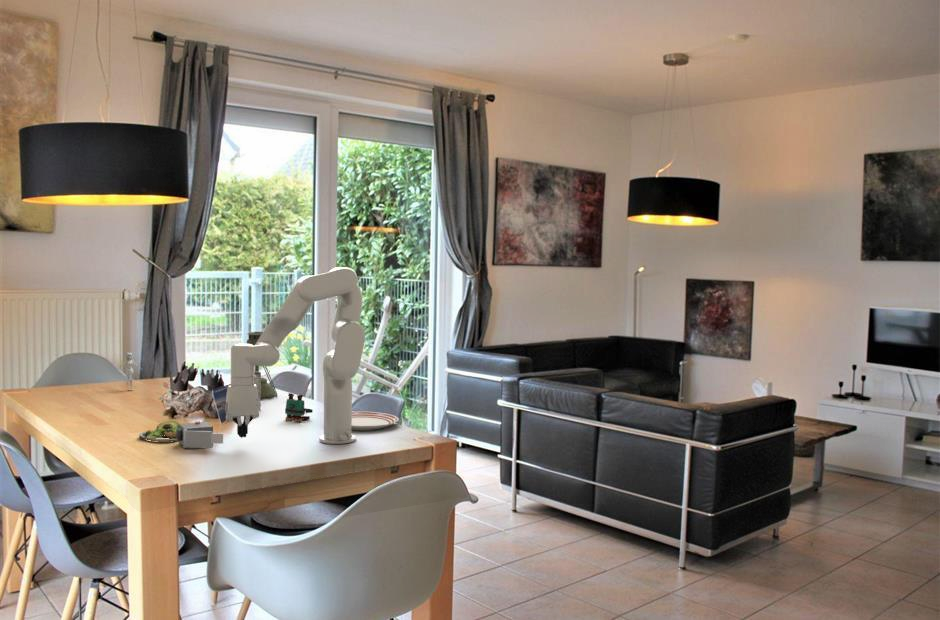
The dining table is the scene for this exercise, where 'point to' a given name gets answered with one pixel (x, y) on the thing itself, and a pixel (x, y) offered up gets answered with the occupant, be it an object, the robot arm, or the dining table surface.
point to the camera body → (192, 429)
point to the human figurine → (129, 368)
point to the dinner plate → (372, 420)
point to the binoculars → (296, 409)
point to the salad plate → (162, 432)
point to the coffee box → (258, 387)
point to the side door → (201, 439)
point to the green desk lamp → (266, 388)
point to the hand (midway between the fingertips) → (242, 436)
